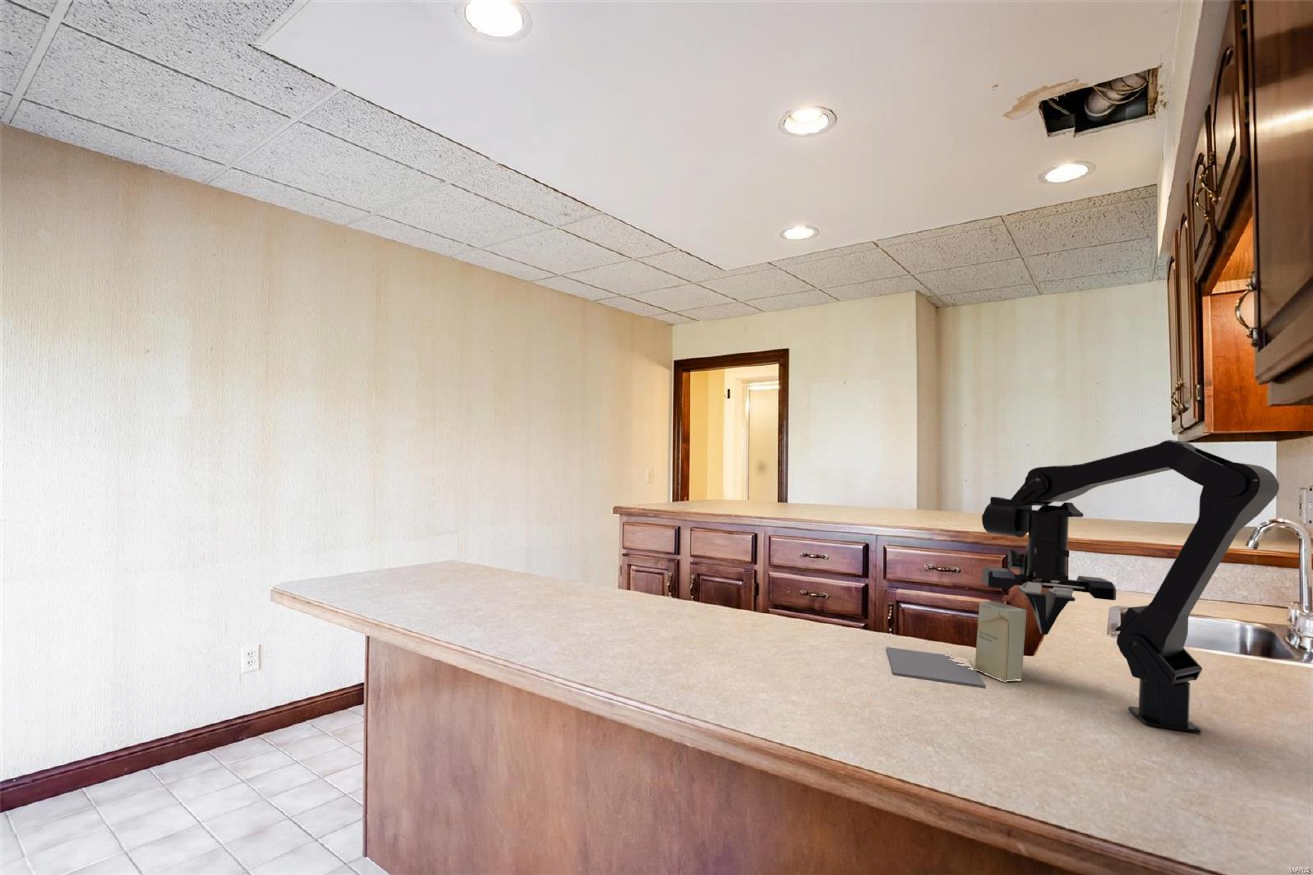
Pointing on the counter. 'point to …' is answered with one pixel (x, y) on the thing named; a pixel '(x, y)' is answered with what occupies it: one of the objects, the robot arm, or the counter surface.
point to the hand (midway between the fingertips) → (1043, 634)
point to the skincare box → (1000, 640)
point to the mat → (931, 667)
